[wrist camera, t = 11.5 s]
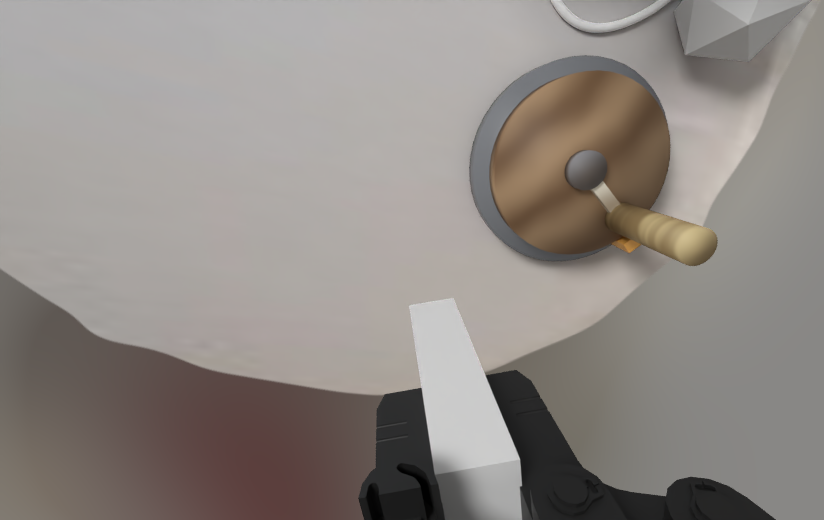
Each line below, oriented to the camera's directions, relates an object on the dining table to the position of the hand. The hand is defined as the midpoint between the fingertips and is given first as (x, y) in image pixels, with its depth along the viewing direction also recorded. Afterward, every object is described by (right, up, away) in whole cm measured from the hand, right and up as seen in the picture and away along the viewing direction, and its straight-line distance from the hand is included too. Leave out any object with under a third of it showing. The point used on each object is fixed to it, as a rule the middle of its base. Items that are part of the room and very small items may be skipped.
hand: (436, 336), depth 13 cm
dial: (+15, +12, +25) cm, 32 cm away
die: (+27, +26, +23) cm, 44 cm away
